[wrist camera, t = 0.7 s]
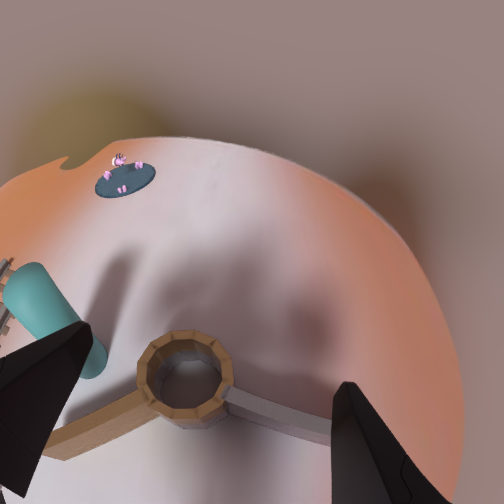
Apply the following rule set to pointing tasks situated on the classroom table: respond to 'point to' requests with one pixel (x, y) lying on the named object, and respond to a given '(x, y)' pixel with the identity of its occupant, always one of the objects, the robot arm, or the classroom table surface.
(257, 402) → the steel hinge leaf
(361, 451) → the robot arm
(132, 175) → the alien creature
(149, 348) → the bronze hinge leaf
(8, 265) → the model train track
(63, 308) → the teal hinge pin
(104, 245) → the classroom table surface
